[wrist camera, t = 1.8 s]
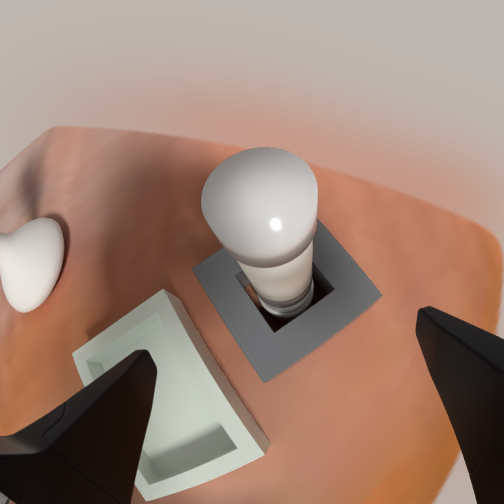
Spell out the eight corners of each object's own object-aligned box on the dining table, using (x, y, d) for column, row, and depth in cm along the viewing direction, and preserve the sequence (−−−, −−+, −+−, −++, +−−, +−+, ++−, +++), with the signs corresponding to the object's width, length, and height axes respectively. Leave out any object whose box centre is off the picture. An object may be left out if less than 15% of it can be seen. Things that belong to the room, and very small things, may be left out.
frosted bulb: (323, 299, 20) (342, 198, 8) (280, 330, 20) (239, 269, 8) (293, 260, 22) (271, 132, 10) (251, 289, 22) (183, 186, 10)
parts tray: (271, 443, 17) (264, 454, 14) (164, 489, 16) (146, 501, 13) (180, 299, 22) (163, 288, 20) (94, 357, 21) (72, 353, 19)
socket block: (372, 305, 19) (382, 295, 17) (269, 380, 19) (263, 382, 16) (299, 218, 23) (298, 197, 20) (205, 281, 22) (191, 268, 20)
